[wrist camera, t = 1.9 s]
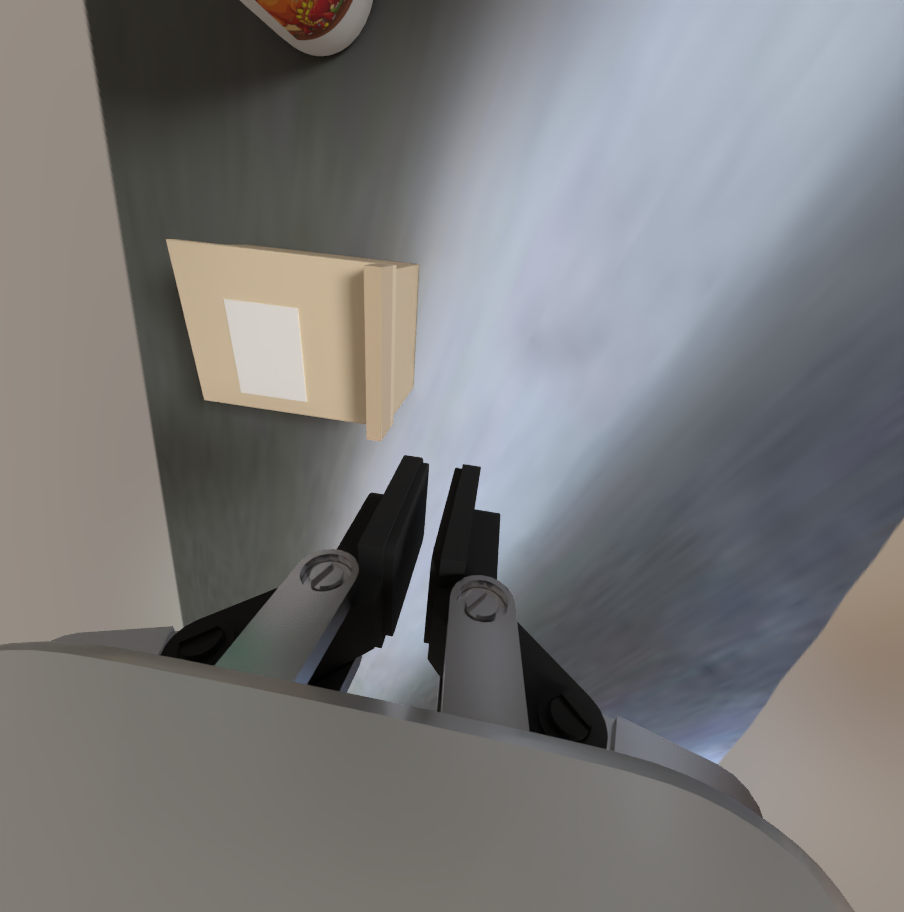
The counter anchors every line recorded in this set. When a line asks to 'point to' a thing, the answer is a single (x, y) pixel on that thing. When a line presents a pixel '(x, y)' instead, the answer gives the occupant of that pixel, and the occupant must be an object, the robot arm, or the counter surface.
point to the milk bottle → (314, 22)
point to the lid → (291, 330)
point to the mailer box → (403, 319)
